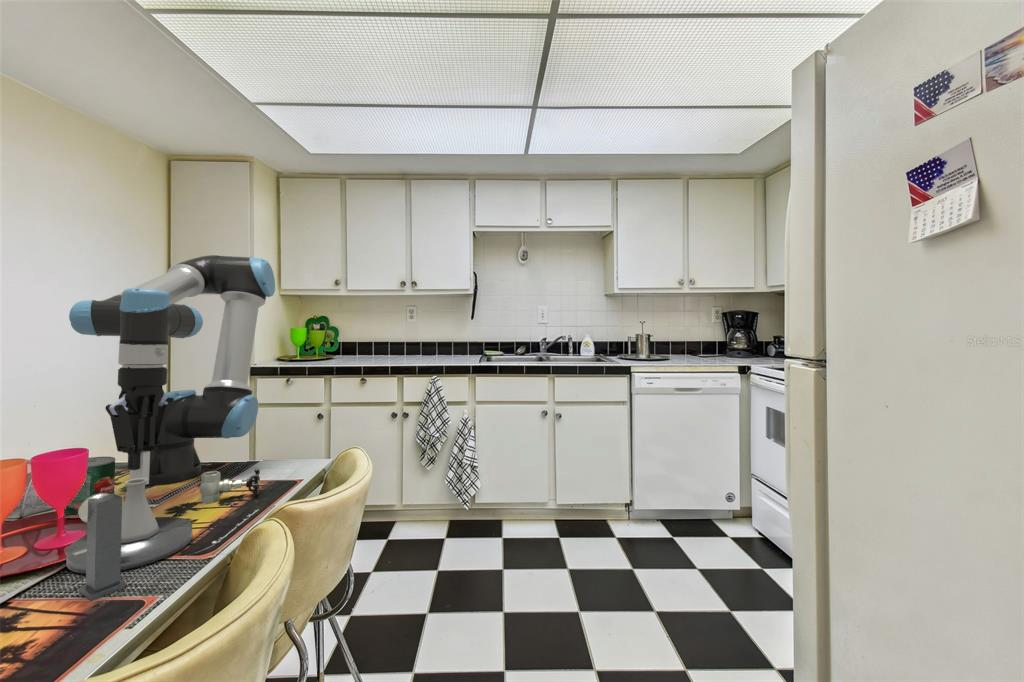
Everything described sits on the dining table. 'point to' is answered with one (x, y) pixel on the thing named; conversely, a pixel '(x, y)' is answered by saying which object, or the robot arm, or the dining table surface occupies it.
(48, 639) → the dining table surface
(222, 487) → the valve
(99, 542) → the post
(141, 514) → the flask
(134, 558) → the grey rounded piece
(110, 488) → the canned tomato
